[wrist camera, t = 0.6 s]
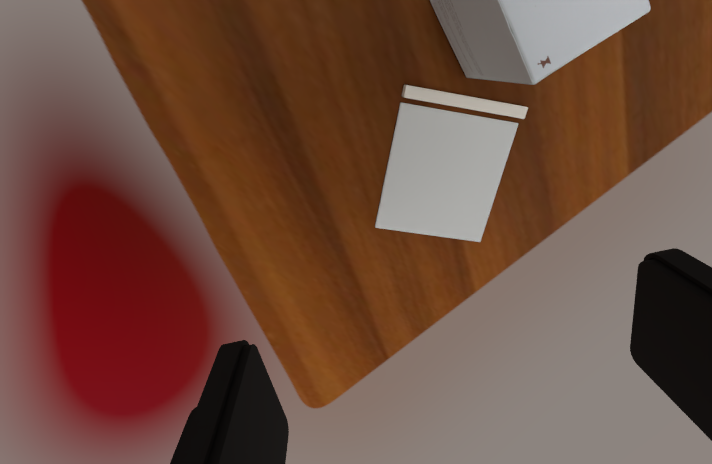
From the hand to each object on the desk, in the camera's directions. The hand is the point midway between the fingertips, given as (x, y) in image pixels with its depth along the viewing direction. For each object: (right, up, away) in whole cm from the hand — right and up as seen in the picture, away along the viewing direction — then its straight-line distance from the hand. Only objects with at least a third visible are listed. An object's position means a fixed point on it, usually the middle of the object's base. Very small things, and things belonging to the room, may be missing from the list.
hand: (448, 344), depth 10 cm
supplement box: (+8, +21, +23) cm, 32 cm away
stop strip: (+7, +14, +25) cm, 30 cm away
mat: (+6, +8, +28) cm, 30 cm away
